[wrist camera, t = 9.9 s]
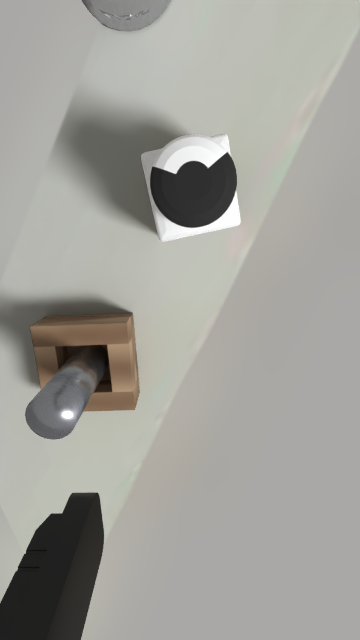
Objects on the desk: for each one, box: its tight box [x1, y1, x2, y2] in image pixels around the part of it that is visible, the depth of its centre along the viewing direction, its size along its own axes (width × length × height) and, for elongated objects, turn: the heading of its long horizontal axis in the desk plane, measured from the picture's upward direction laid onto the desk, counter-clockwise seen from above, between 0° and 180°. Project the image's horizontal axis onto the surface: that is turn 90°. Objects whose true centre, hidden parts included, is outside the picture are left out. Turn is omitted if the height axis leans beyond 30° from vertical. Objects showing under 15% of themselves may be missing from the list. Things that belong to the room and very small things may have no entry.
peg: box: [25, 345, 109, 439], centre depth 31 cm, size 4×4×12 cm
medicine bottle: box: [141, 134, 241, 242], centre depth 27 cm, size 7×7×12 cm
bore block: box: [30, 313, 140, 411], centre depth 36 cm, size 10×10×4 cm
